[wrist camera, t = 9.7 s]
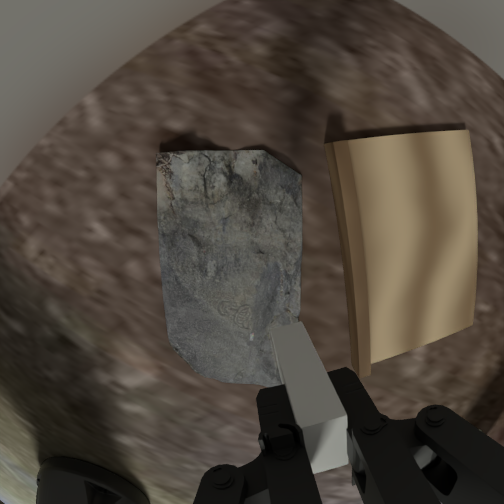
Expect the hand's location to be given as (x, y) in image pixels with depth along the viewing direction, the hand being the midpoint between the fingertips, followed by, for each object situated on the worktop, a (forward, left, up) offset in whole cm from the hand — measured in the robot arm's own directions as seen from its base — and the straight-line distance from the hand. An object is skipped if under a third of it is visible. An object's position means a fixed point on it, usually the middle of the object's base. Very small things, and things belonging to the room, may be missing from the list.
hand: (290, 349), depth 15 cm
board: (+13, 0, -9) cm, 15 cm away
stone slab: (+3, 0, -8) cm, 9 cm away
